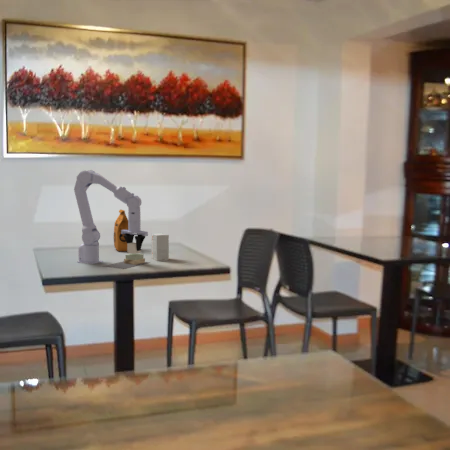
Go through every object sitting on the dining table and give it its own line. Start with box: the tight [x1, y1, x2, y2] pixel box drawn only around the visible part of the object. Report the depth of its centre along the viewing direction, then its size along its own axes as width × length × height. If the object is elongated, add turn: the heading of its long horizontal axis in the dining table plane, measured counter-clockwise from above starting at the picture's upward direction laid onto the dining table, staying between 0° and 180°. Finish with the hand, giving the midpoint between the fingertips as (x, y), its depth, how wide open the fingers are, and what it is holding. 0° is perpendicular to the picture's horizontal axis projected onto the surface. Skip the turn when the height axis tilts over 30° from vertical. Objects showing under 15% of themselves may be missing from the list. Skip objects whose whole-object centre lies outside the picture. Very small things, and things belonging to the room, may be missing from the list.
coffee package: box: [113, 209, 128, 252], centre depth 320 cm, size 10×12×22 cm
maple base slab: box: [123, 257, 146, 265], centre depth 279 cm, size 7×7×2 cm
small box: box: [151, 232, 170, 262], centre depth 290 cm, size 8×6×13 cm
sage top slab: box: [125, 253, 144, 260], centre depth 279 cm, size 6×6×2 cm
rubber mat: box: [103, 260, 151, 270], centre depth 275 cm, size 13×20×1 cm, turn 150°
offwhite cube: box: [126, 241, 142, 254], centre depth 278 cm, size 4×4×4 cm
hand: (134, 250), depth 279 cm, fingers closed on offwhite cube, 4 cm apart
